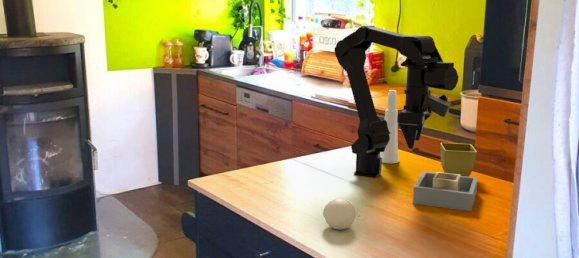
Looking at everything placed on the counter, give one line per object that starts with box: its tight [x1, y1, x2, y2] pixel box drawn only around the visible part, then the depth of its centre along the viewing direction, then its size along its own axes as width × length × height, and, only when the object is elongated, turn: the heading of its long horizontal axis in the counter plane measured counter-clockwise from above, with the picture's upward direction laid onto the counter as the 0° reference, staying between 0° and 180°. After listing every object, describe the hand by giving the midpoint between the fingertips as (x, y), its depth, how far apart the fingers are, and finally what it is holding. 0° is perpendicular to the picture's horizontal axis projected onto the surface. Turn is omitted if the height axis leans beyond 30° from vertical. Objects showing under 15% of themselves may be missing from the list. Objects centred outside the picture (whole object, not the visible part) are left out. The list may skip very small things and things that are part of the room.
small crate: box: [432, 171, 460, 191], centre depth 153 cm, size 6×6×5 cm
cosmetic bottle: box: [380, 89, 400, 165], centre depth 184 cm, size 6×6×22 cm
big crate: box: [412, 170, 478, 212], centre depth 153 cm, size 14×14×4 cm
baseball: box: [322, 198, 357, 230], centre depth 134 cm, size 7×7×7 cm
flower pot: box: [439, 142, 478, 177], centre depth 170 cm, size 9×9×9 cm
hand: (414, 144), depth 159 cm, fingers open, 9 cm apart
